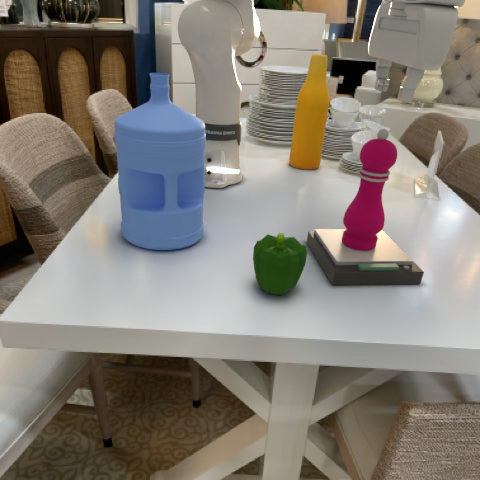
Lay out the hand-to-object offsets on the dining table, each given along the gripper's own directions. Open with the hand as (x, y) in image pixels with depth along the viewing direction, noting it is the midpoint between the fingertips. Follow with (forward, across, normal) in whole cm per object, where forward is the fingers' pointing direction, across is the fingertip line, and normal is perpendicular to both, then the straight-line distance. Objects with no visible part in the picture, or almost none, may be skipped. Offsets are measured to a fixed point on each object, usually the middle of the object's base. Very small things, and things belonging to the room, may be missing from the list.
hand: (391, 95), depth 74 cm
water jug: (+29, -9, -36) cm, 47 cm away
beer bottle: (+29, -61, +6) cm, 68 cm away
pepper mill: (+25, +2, 0) cm, 25 cm away
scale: (+28, +3, 0) cm, 28 cm away
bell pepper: (+28, +12, -18) cm, 35 cm away
